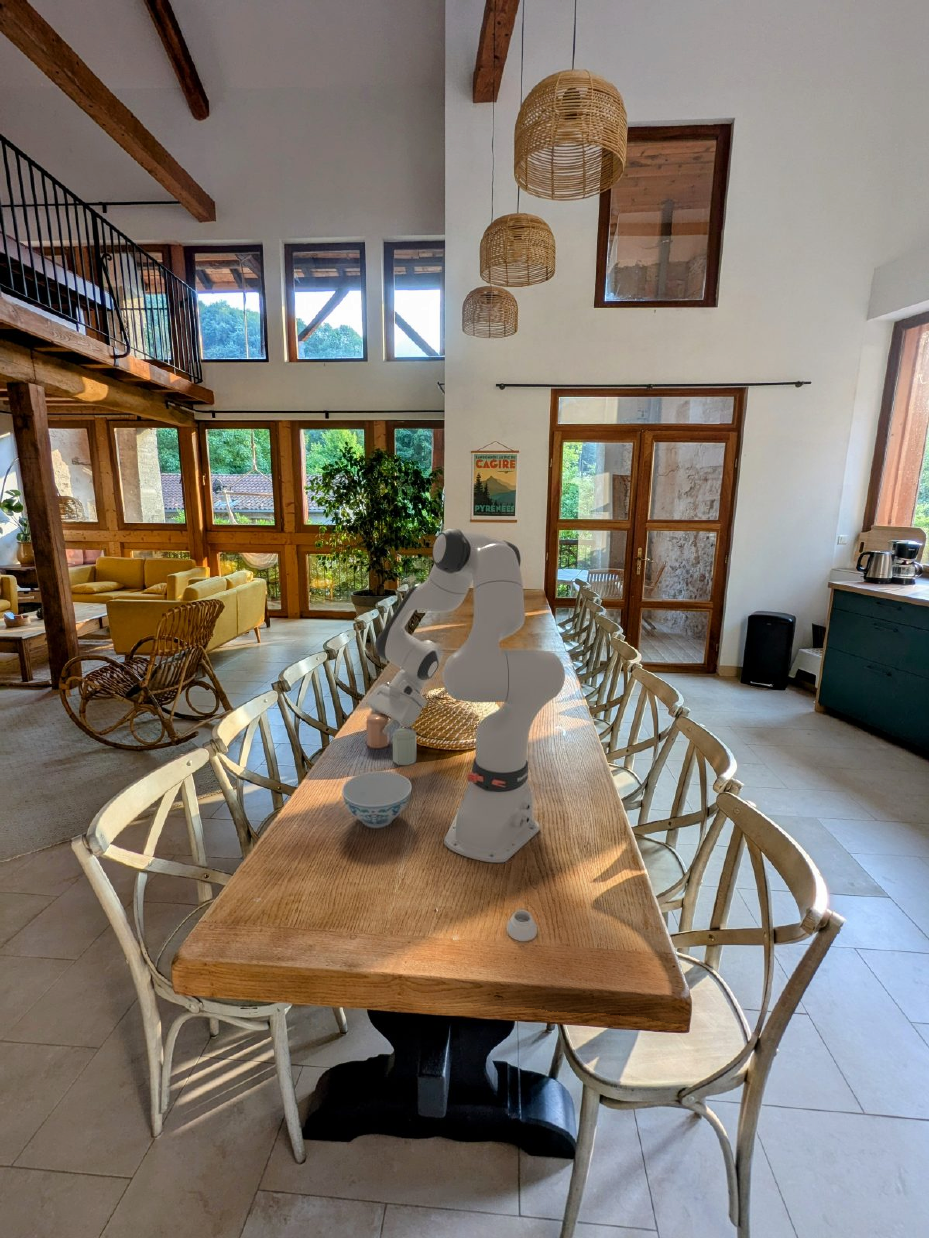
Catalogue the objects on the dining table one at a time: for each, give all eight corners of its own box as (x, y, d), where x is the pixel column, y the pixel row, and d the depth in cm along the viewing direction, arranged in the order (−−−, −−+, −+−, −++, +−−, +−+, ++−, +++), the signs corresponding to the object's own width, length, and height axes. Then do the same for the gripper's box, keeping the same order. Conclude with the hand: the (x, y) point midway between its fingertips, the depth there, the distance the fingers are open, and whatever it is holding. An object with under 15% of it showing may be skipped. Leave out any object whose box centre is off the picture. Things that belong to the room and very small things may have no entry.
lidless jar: (508, 918, 96) (505, 940, 91) (508, 903, 96) (505, 925, 91) (537, 922, 95) (536, 945, 91) (538, 907, 95) (537, 929, 90)
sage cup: (420, 760, 153) (420, 733, 151) (401, 767, 149) (401, 738, 147) (407, 753, 157) (407, 726, 156) (389, 759, 153) (389, 731, 152)
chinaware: (393, 845, 116) (393, 811, 114) (329, 830, 120) (328, 797, 119) (422, 808, 129) (422, 777, 128) (364, 796, 134) (363, 766, 132)
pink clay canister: (392, 744, 163) (392, 718, 161) (374, 749, 159) (374, 723, 157) (381, 737, 167) (380, 711, 166) (363, 742, 163) (363, 716, 162)
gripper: (378, 675, 172) (350, 712, 168) (418, 693, 157) (388, 735, 152) (390, 686, 176) (364, 723, 171) (430, 704, 160) (402, 746, 156)
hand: (375, 729), depth 162 cm, fingers closed on pink clay canister, 6 cm apart
